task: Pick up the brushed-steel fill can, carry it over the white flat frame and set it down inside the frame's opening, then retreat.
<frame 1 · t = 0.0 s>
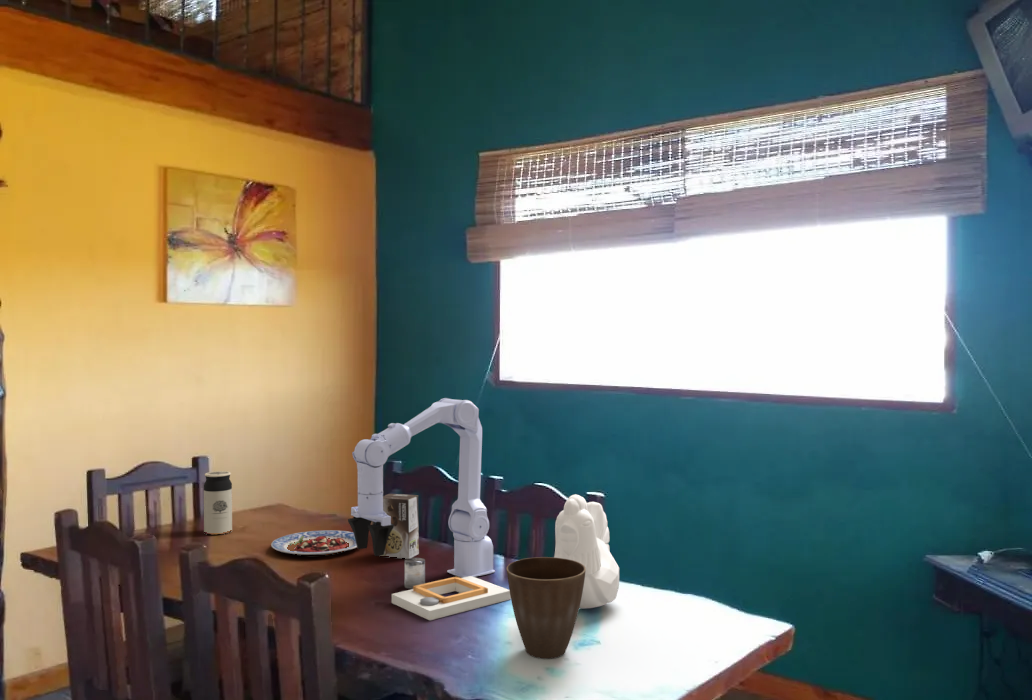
hand: (370, 551, 193), 10 cm above the table, fingers open, 7 cm apart
ceramic plate: (319, 549, 236), on the table
coffee box: (399, 556, 228), on the table
travel mug: (218, 533, 254), on the table
plant pot: (545, 653, 159), on the table
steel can: (414, 585, 200), on the table
decorative rooster: (590, 602, 189), on the table
white flat frame: (451, 601, 189), on the table
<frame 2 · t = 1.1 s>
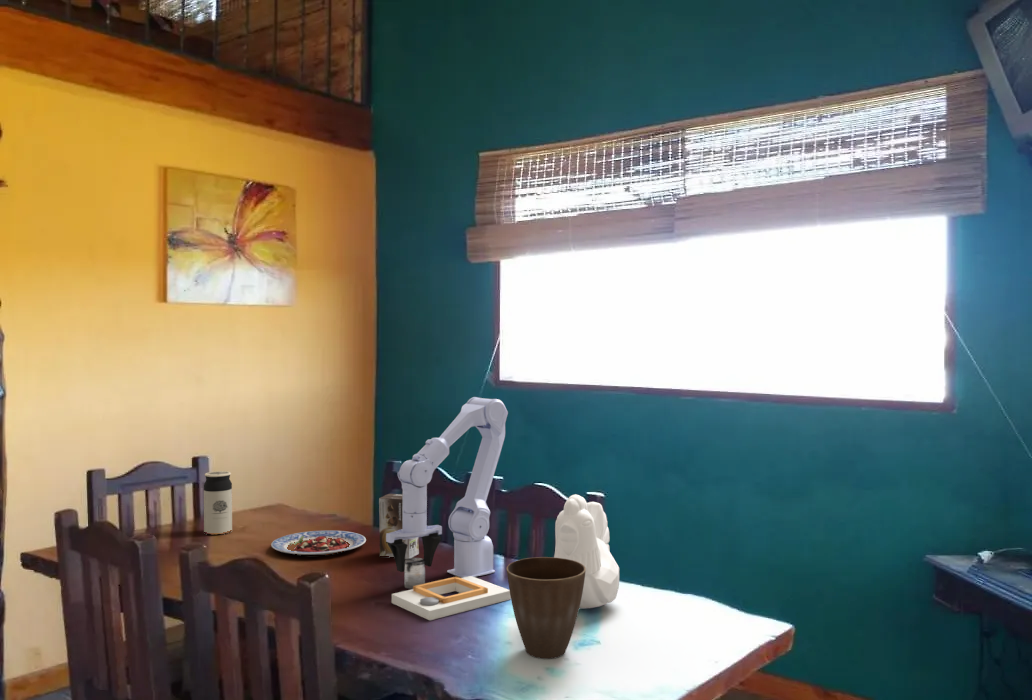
hand: (414, 568, 200), 4 cm above the table, fingers open, 7 cm apart
nothing on the table moved.
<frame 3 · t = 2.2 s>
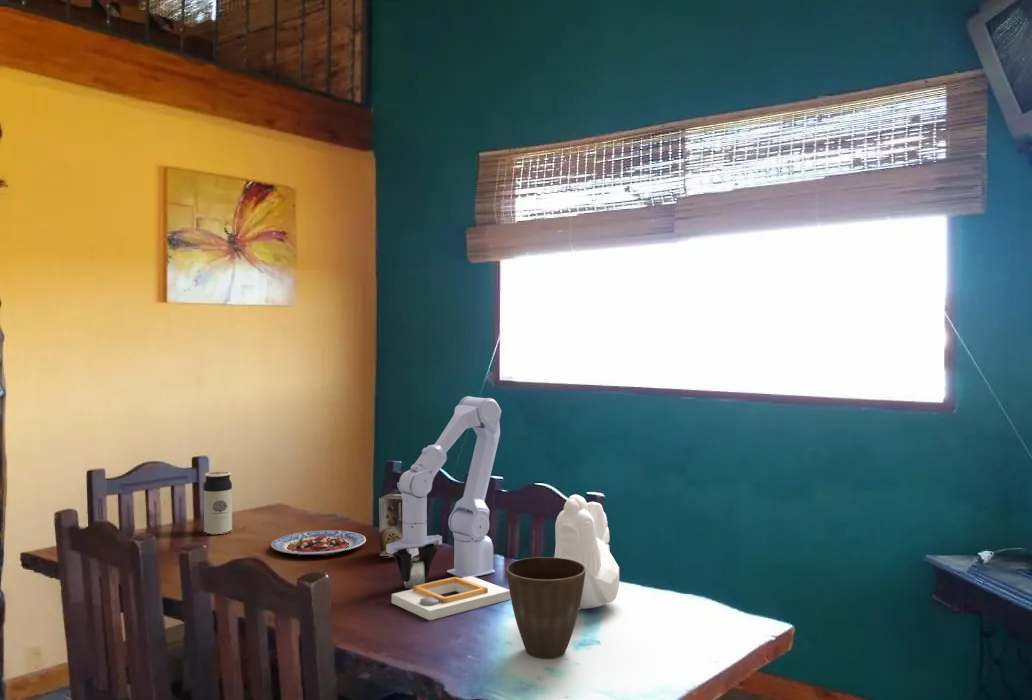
hand: (414, 578, 200), 2 cm above the table, fingers closed on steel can, 5 cm apart
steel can: (414, 585, 200), on the table, touching gripper
everything else where it was.
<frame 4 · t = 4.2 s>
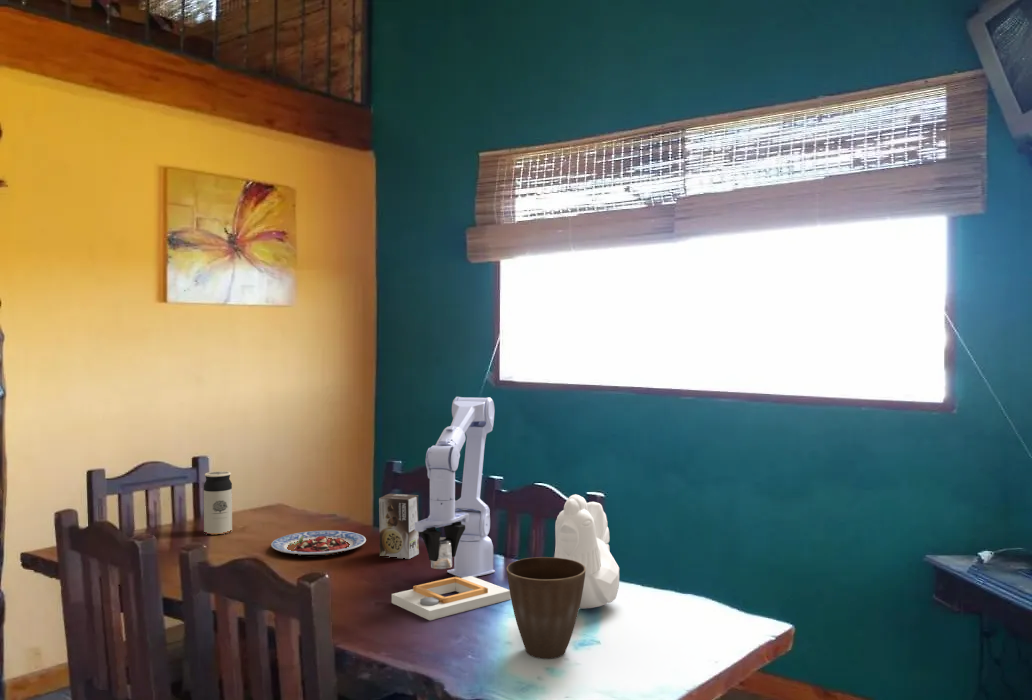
hand: (442, 558, 191), 9 cm above the table, fingers closed on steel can, 5 cm apart
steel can: (441, 566, 192), point 7 cm above the table, touching gripper
everything else where it was.
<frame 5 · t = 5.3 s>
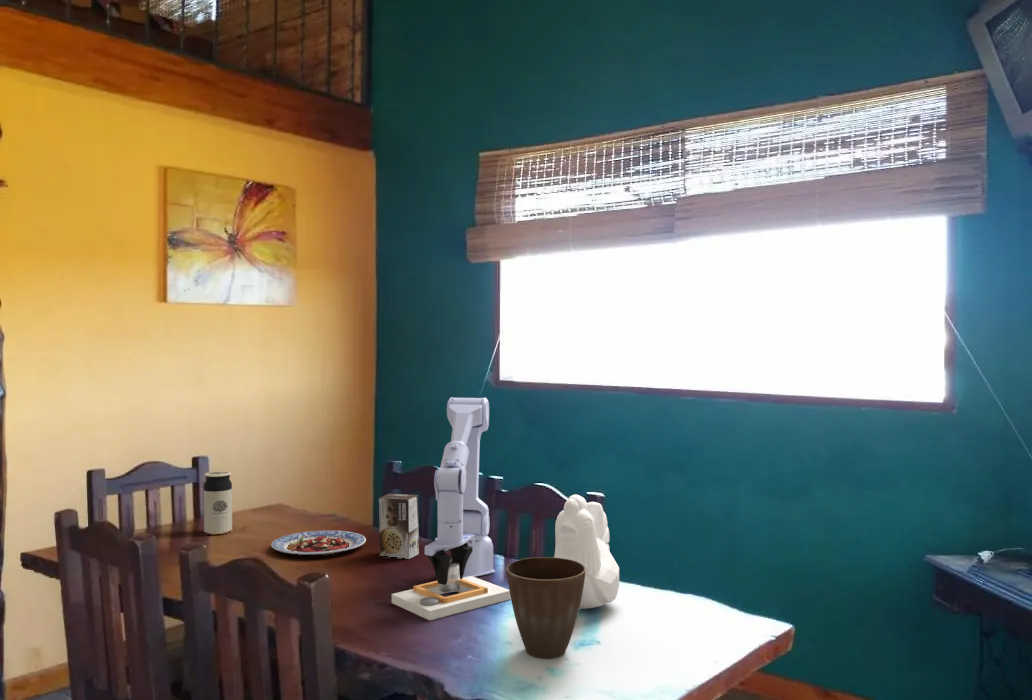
hand: (450, 581, 189), 4 cm above the table, fingers closed on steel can, 5 cm apart
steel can: (449, 589, 189), point 2 cm above the table, touching gripper
everything else where it was.
when the fingers open (4 cm above the table, at t = 6.2 s): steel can drops 2 cm, resting in white flat frame.
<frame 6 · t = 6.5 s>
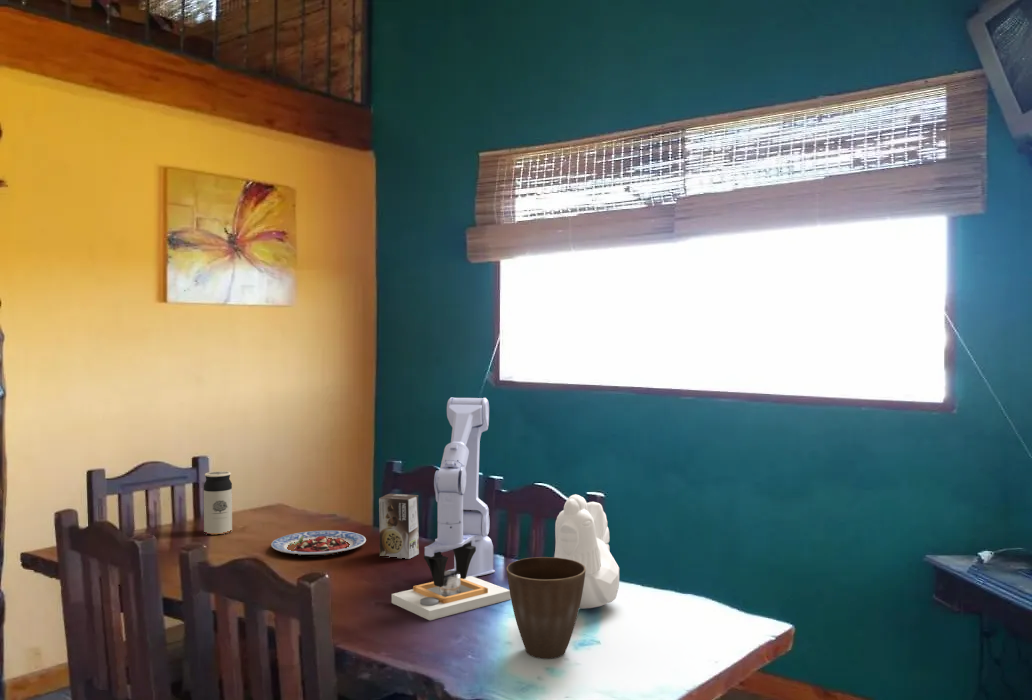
hand: (450, 581, 189), 4 cm above the table, fingers open, 7 cm apart
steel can: (449, 600, 189), resting in white flat frame
everything else where it was.
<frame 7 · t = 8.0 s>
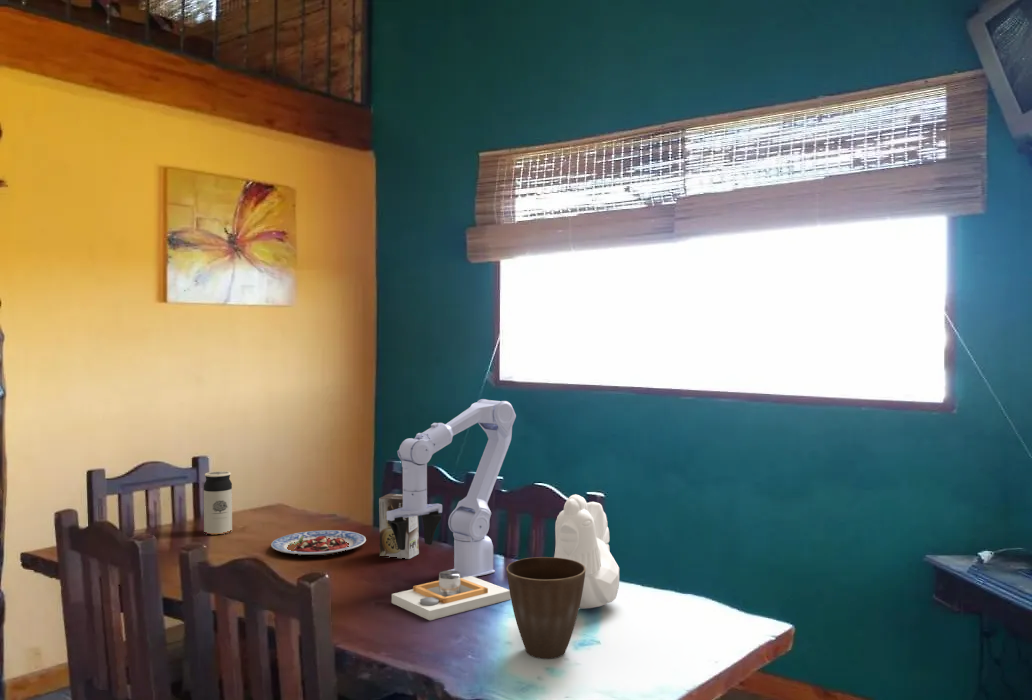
hand: (414, 546, 200), 9 cm above the table, fingers open, 7 cm apart
nothing on the table moved.
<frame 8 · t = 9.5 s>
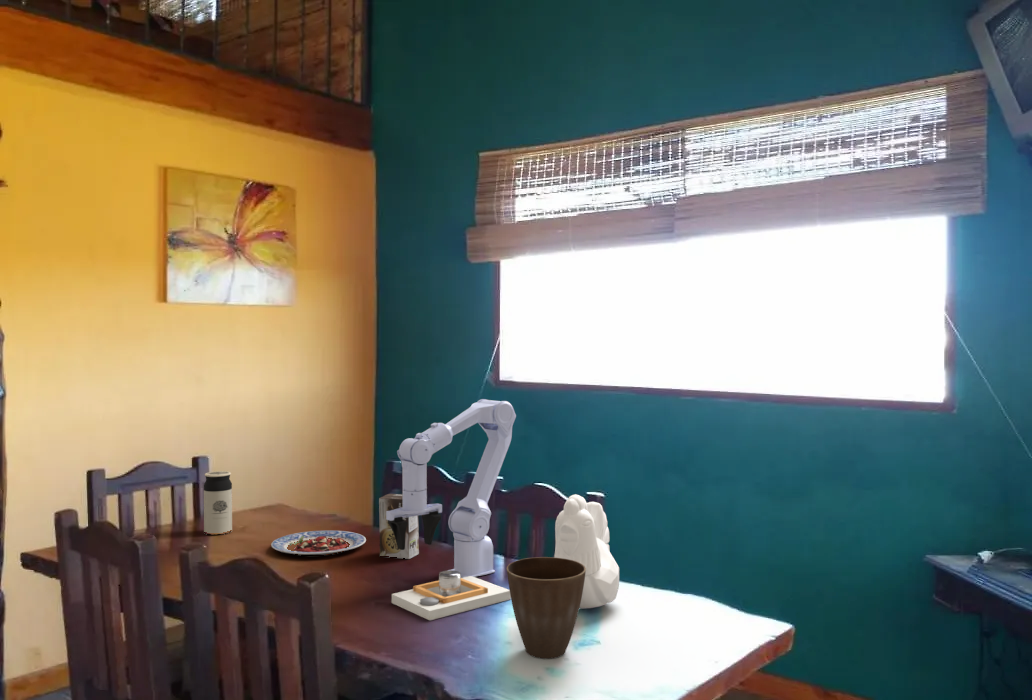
hand: (414, 546, 200), 9 cm above the table, fingers open, 7 cm apart
nothing on the table moved.
at the end: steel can 0.2 cm off-centre on the white flat frame, point 0.0 cm above the white flat frame's base; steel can tilted 1°; the gripper is holding nothing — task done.
